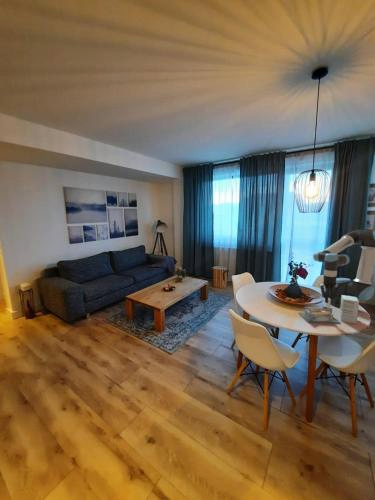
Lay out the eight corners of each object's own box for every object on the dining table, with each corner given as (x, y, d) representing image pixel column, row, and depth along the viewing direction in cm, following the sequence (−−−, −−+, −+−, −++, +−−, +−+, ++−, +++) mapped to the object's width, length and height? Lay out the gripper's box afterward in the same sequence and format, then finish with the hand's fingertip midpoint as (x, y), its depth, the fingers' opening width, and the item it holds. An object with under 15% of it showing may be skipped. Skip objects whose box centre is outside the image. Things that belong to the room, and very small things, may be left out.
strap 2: (310, 316, 149) (310, 314, 148) (308, 313, 152) (308, 312, 152) (331, 315, 147) (331, 313, 147) (328, 313, 150) (329, 311, 150)
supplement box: (339, 315, 157) (341, 294, 155) (354, 318, 153) (356, 296, 150) (340, 321, 149) (342, 299, 147) (356, 324, 145) (359, 301, 142)
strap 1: (326, 309, 158) (326, 308, 158) (328, 311, 155) (328, 309, 155) (306, 307, 159) (306, 306, 159) (308, 309, 156) (308, 308, 156)
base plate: (327, 313, 161) (328, 304, 159) (340, 323, 146) (341, 313, 145) (298, 313, 162) (298, 304, 161) (307, 322, 148) (308, 313, 146)
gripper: (336, 273, 148) (334, 304, 152) (317, 274, 149) (315, 304, 153) (343, 276, 140) (340, 309, 144) (323, 277, 141) (321, 309, 145)
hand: (327, 306), depth 148 cm, fingers closed
